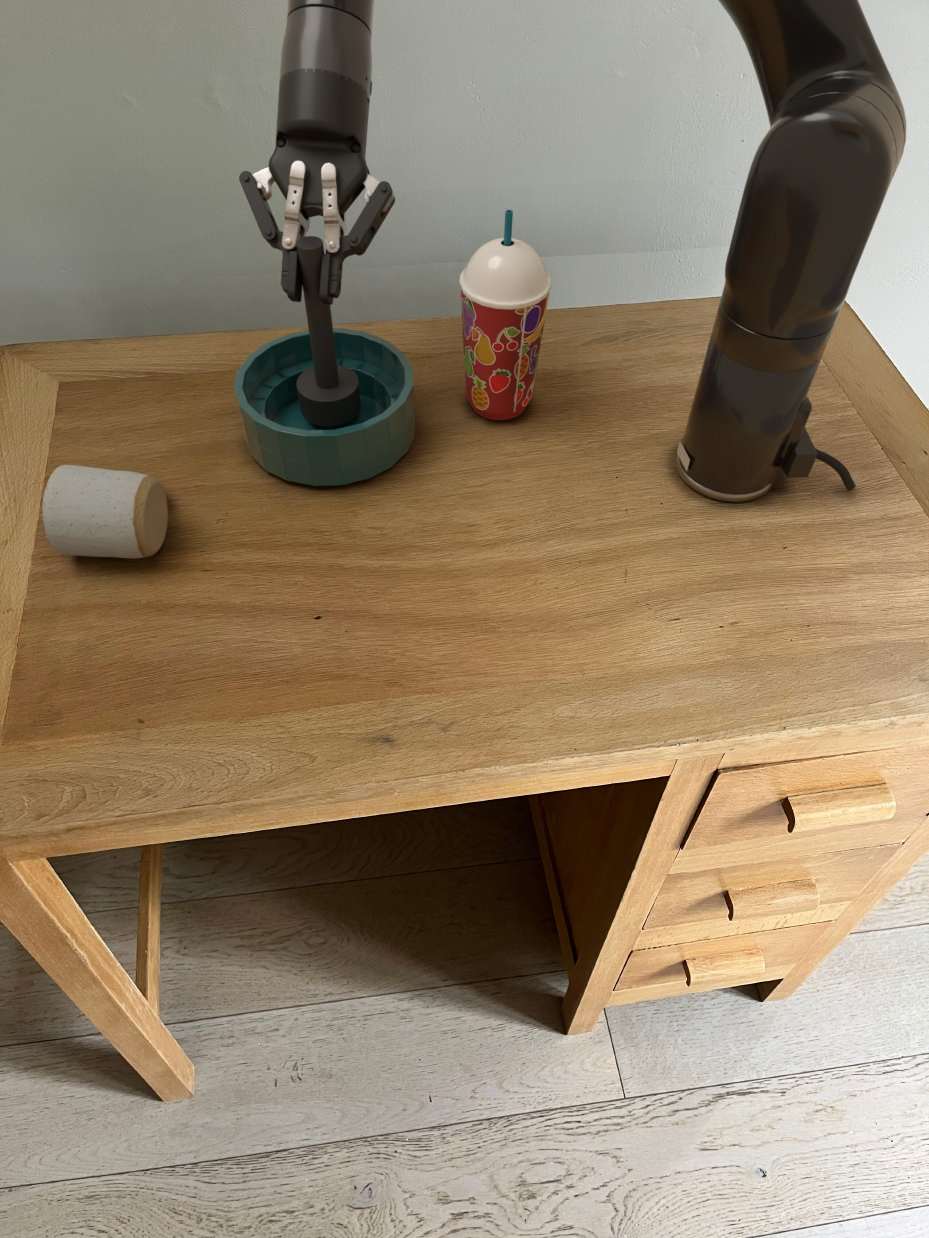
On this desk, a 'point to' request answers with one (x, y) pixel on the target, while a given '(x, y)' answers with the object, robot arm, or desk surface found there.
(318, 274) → the rod on round base
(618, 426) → the desk surface
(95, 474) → the ceramic mug
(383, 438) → the bowl
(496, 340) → the smoothie
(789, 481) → the desk surface
